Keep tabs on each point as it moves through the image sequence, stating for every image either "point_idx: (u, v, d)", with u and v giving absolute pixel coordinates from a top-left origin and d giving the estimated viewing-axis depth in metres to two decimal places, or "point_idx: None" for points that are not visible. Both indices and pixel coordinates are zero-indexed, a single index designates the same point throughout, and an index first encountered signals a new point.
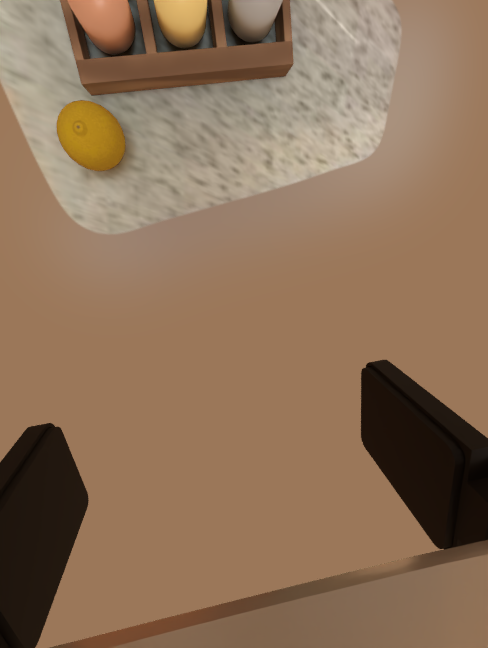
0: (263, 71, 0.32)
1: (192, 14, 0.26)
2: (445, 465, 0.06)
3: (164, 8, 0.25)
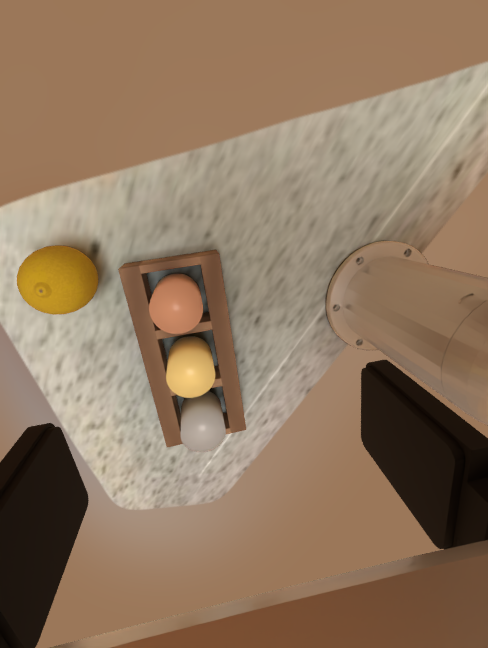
0: None
1: (173, 387, 0.29)
2: (445, 465, 0.06)
3: (174, 365, 0.28)
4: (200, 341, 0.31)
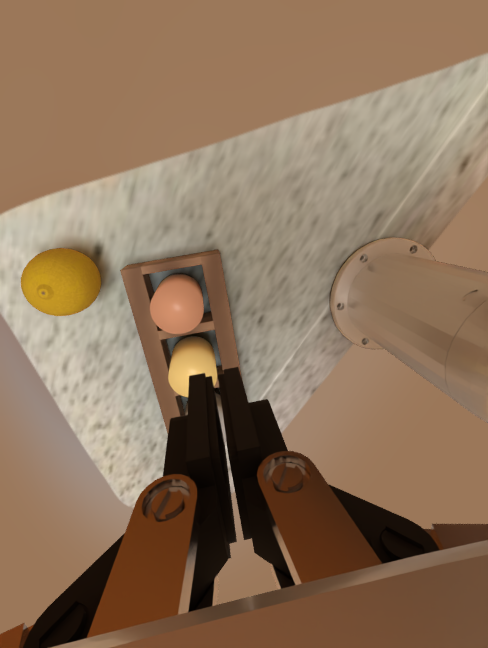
0: None
1: (175, 387, 0.29)
2: (230, 464, 0.07)
3: (175, 365, 0.28)
4: (202, 341, 0.31)
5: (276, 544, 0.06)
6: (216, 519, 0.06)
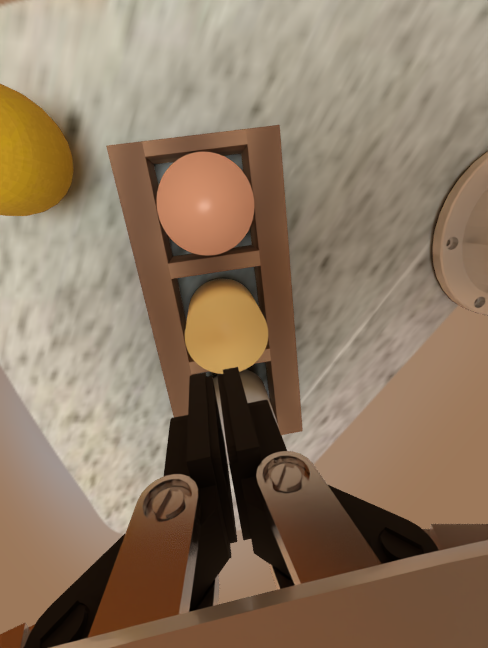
0: None
1: (196, 354, 0.17)
2: (229, 464, 0.07)
3: (198, 315, 0.16)
4: (240, 285, 0.19)
5: (275, 544, 0.06)
6: (217, 519, 0.06)
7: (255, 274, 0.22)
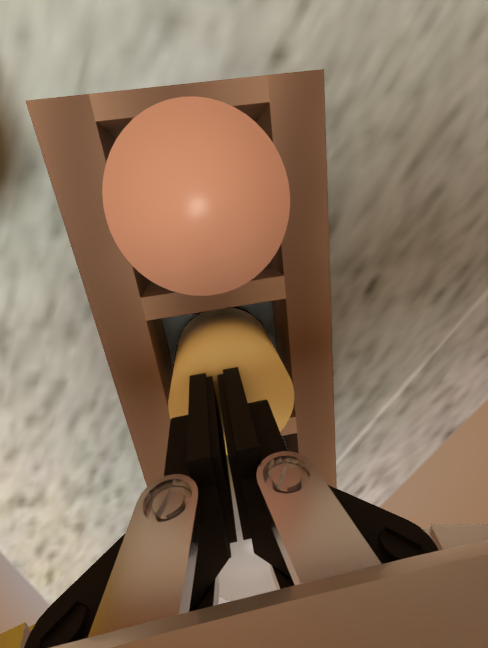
0: None
1: None
2: (229, 464, 0.07)
3: (189, 374, 0.10)
4: (250, 319, 0.14)
5: (275, 544, 0.06)
6: (217, 519, 0.06)
7: (272, 304, 0.15)
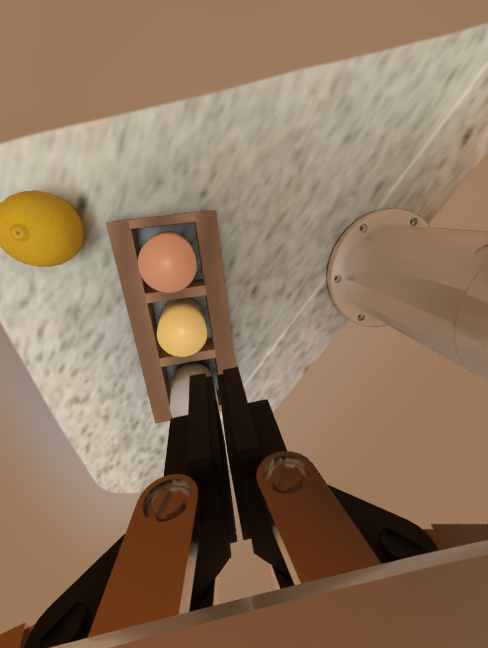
0: None
1: (163, 344, 0.28)
2: (229, 464, 0.07)
3: (165, 321, 0.28)
4: (193, 303, 0.31)
5: (275, 544, 0.06)
6: (217, 519, 0.06)
7: (206, 298, 0.32)
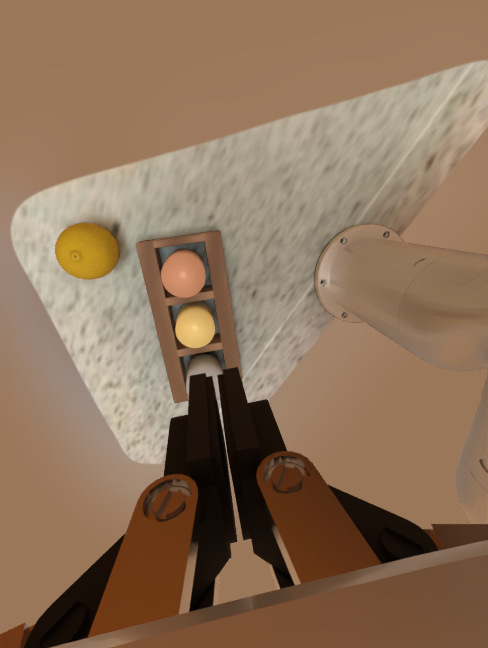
0: None
1: (181, 338, 0.36)
2: (229, 464, 0.07)
3: (181, 320, 0.35)
4: (203, 304, 0.38)
5: (275, 544, 0.06)
6: (217, 519, 0.06)
7: (214, 300, 0.40)
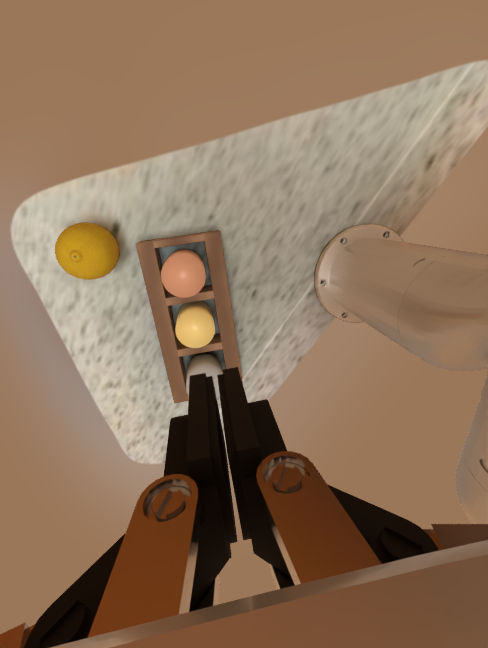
0: None
1: (181, 338, 0.36)
2: (229, 464, 0.07)
3: (181, 320, 0.35)
4: (203, 304, 0.38)
5: (275, 544, 0.06)
6: (217, 519, 0.06)
7: (214, 300, 0.40)
